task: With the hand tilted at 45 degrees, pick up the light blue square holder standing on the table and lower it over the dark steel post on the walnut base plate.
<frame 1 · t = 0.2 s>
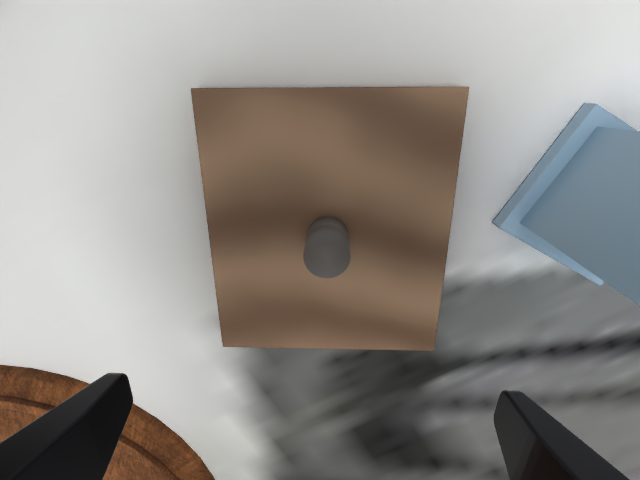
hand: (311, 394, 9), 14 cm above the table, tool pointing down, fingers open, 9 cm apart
light blue square holder: (587, 198, 21), on the table
locating plate: (328, 229, 23), on the table
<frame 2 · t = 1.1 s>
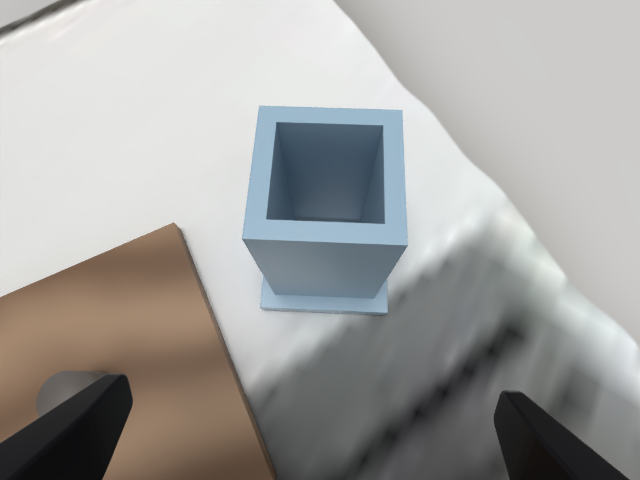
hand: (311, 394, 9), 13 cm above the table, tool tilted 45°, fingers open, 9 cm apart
light blue square holder: (325, 254, 24), on the table
locating plate: (110, 393, 21), on the table
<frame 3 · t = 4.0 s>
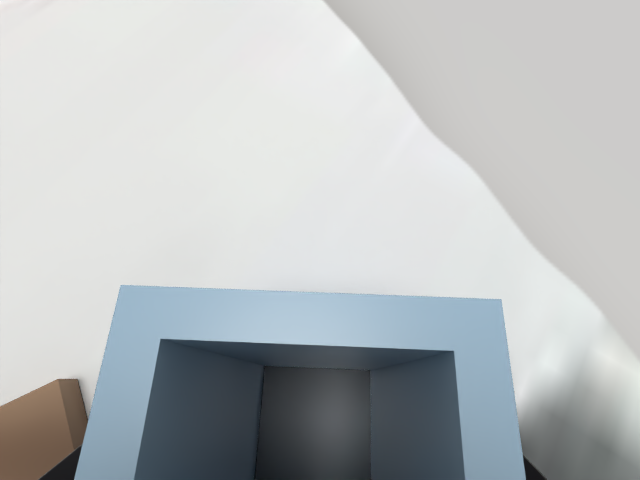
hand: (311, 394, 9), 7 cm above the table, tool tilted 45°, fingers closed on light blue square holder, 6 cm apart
light blue square holder: (314, 427, 15), on the table, touching gripper
when the fingers open (8 cm above the table, at t = 8.9 s): light blue square holder stays where it is, resting on locating plate.
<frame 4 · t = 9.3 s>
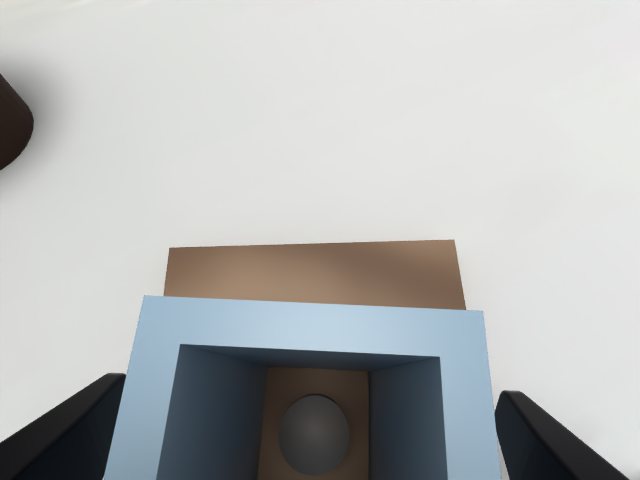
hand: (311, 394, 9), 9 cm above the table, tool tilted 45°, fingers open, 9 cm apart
light blue square holder: (315, 425, 15), point 1 cm above the table, touching locating plate
locating plate: (316, 421, 16), on the table
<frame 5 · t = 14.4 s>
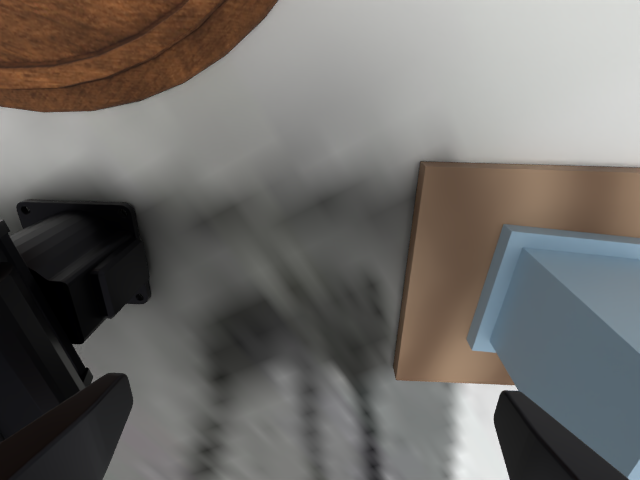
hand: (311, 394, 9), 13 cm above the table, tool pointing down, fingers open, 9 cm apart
light blue square holder: (549, 292, 21), point 1 cm above the table, touching locating plate
locating plate: (539, 282, 22), on the table
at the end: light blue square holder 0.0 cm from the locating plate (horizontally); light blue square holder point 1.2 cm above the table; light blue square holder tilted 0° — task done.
